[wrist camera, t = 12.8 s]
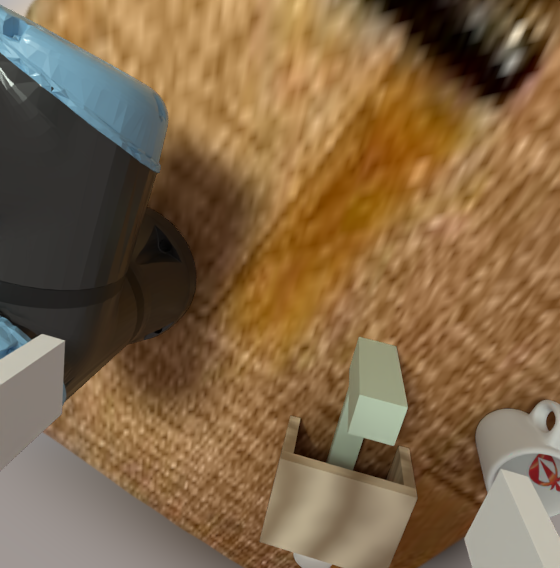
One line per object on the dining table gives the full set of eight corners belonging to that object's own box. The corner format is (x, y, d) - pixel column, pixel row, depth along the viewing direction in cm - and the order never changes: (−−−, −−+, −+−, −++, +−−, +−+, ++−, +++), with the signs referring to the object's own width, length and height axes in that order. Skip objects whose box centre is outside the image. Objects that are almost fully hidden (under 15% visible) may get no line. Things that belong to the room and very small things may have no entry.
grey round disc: (294, 550, 57) (291, 566, 54) (298, 521, 55) (295, 537, 53) (331, 558, 56) (330, 575, 54) (336, 529, 54) (335, 546, 52)
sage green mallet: (314, 484, 52) (304, 568, 42) (358, 336, 45) (359, 394, 35) (346, 494, 52) (344, 581, 42) (396, 346, 45) (407, 407, 35)
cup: (505, 365, 43) (536, 411, 36) (578, 396, 43) (625, 450, 36) (452, 441, 47) (470, 498, 40) (519, 471, 47) (549, 533, 40)
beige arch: (271, 491, 54) (259, 541, 47) (290, 415, 50) (280, 458, 43) (380, 523, 53) (383, 580, 46) (409, 448, 48) (417, 498, 42)
